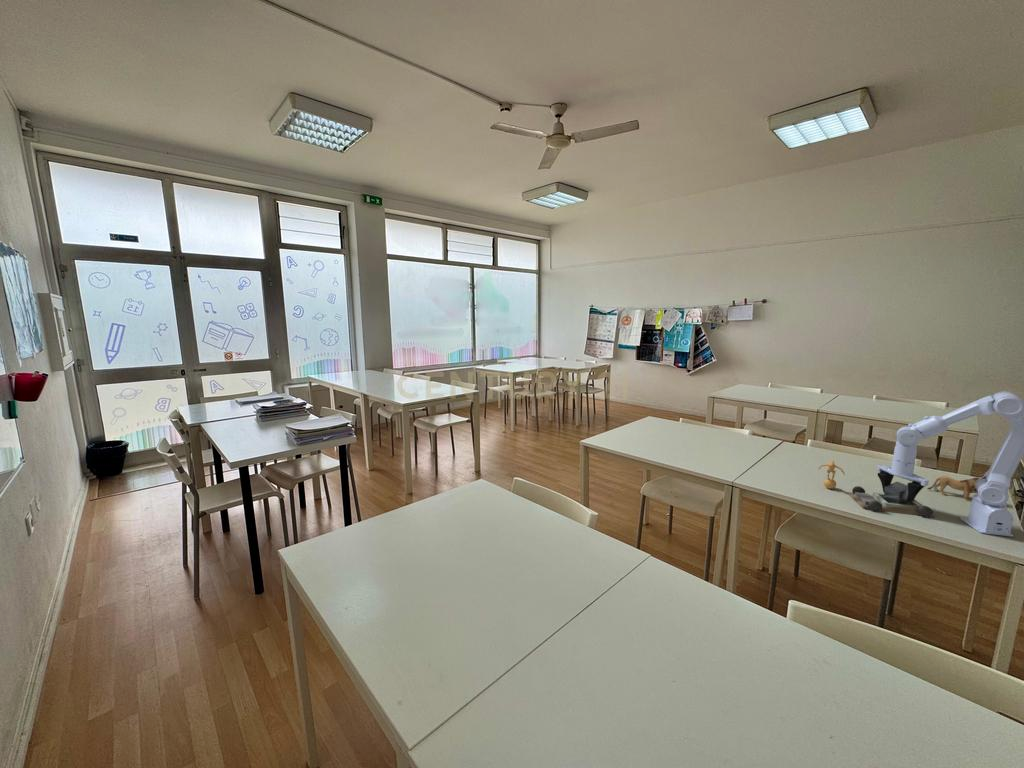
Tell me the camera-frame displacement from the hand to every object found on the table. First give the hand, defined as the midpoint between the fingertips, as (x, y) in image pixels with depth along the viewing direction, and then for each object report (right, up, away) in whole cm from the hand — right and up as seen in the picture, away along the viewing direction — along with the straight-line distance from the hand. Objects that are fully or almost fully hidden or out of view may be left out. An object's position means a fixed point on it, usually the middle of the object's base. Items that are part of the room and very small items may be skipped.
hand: (897, 496), depth 148 cm
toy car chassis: (-2, -4, +1) cm, 4 cm away
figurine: (-13, -1, +15) cm, 20 cm away
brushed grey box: (0, -2, +1) cm, 2 cm away
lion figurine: (+29, -2, +8) cm, 30 cm away
